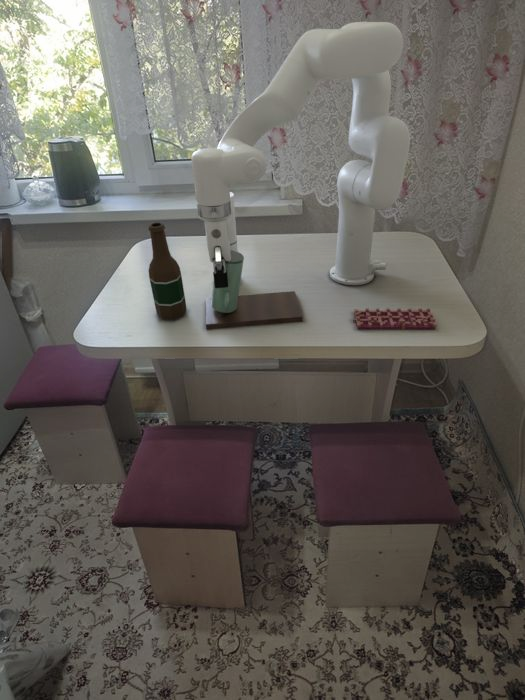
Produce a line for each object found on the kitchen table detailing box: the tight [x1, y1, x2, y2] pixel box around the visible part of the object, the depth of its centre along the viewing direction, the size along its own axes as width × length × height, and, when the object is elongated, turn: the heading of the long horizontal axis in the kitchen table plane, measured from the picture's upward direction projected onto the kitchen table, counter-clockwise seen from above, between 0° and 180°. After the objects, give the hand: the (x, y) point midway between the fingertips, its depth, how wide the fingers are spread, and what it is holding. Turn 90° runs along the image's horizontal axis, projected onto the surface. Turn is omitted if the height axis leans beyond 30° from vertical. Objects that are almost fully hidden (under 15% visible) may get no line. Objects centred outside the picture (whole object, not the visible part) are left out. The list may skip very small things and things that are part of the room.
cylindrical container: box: [212, 191, 239, 268], centre depth 124 cm, size 7×7×25 cm
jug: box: [211, 250, 245, 313], centre depth 111 cm, size 7×9×14 cm
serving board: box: [205, 290, 304, 330], centre depth 117 cm, size 24×13×2 cm, turn 95°
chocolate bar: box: [352, 307, 437, 330], centre depth 111 cm, size 7×19×2 cm, turn 87°
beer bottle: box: [148, 222, 187, 321], centre depth 111 cm, size 8×8×24 cm
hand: (221, 277), depth 112 cm, fingers open, 9 cm apart
